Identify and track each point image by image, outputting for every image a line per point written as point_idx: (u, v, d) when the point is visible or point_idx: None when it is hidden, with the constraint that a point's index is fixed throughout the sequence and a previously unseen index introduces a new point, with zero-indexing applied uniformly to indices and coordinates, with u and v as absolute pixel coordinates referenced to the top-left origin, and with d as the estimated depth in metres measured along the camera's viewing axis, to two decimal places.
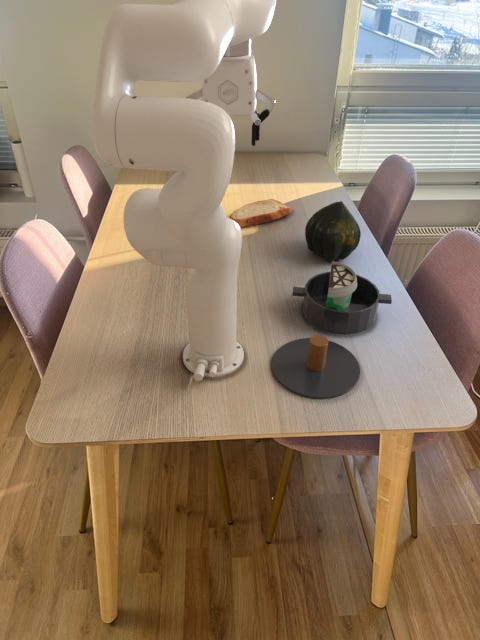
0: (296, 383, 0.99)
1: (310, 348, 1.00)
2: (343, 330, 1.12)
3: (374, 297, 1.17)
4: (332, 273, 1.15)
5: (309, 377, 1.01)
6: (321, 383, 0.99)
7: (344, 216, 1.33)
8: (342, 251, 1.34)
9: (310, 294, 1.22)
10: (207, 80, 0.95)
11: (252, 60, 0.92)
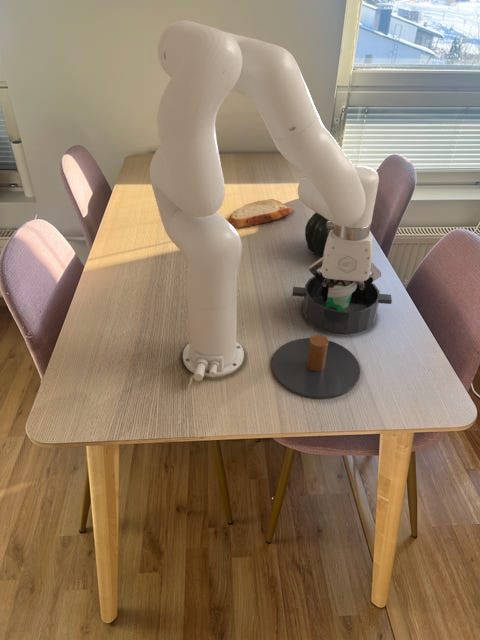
0: (296, 383, 0.99)
1: (310, 348, 1.00)
2: (343, 330, 1.12)
3: (374, 297, 1.17)
4: None
5: (309, 377, 1.01)
6: (321, 383, 0.99)
7: None
8: None
9: (310, 294, 1.22)
10: (329, 254, 1.08)
11: (371, 240, 1.05)
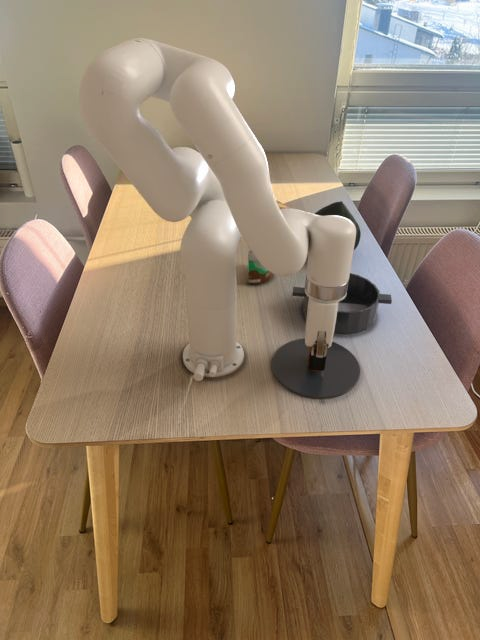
0: (296, 383, 0.99)
1: (310, 348, 1.00)
2: (343, 330, 1.12)
3: (374, 297, 1.17)
4: None
5: (309, 377, 1.01)
6: (321, 383, 0.99)
7: (344, 216, 1.33)
8: None
9: None
10: None
11: (315, 305, 0.89)
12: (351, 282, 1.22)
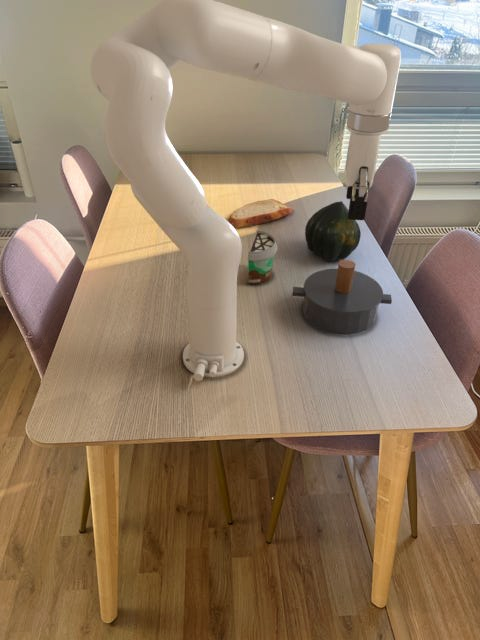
0: (327, 302, 1.11)
1: (339, 271, 1.12)
2: (343, 330, 1.12)
3: None
4: (255, 240, 1.28)
5: (338, 297, 1.12)
6: (349, 302, 1.11)
7: (344, 216, 1.33)
8: (342, 251, 1.34)
9: None
10: None
11: (358, 137, 0.91)
12: None
